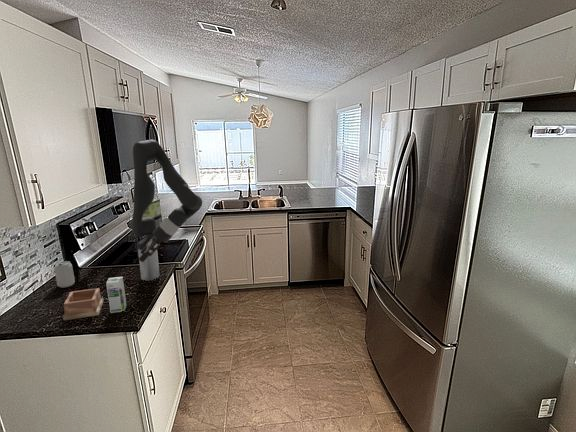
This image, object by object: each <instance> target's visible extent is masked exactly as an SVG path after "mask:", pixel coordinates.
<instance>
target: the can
mask: <svg viewBox="0 0 576 432" xmlns="http://www.w3.org/2000/svg"><path fill="white" fill-rule="evenodd" d="M73 268H74V267H73V264H72V263H71V261H69V260H68V261H67V260H65V261H59V262H57V263H55V265H54V267H53V269H54V275H55V280H56V281H55V282H56V284H57V287H58V288H69V287H72V286H73V285H74V284H75V282H76V281H75V275H74V269H73Z"/></svg>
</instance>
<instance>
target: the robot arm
mask: <svg viewBox="0 0 576 432" xmlns="http://www.w3.org/2000/svg"><path fill="white" fill-rule="evenodd" d="M132 158H133V172H134V173H133V174H134V175H133V177H134V178H133V179H134V180H133V181H134V182H133V183H134V184H133V212H132V220H131V231H132V234H133V236H135V237H143V239H141V240H140V241H138V243H137V252H138V262H139V270H140V271H139V272H140V279H141V280H142V281H144V280H145V281H144V282H151V281H155V280H157V279H159V278H160V277H159V276H160V275H161V274H160V265H159V263H160V262H159V256H158V255H159V254H158V249H159V248H160V247H161V242H163V243H165V244H166V243H168V242H169V241H170V240H171V238H173V237H174V235H176V233H177V232H178V231H179V230H180V228H181V227H182V226H183V225H184V223H185V222H187V220H188V219H190V218H191V217H192V216H193V215H194V214H196V213H197V212H198V211H199V210H200V209H201V208H202V205H203V200H202V198H201V196H199V195H197V194H195V193H194V191H192V189H191V188H190V186H189V184H188V183H187V181H186V180H185V179H184V178H183V177H182V176H181V175H180V174H179V172H178V171H177V170H176V168H175V167H174V165H173V164H172V161H171V160H170V158H169V157H168V155H167V153H166V152H165V150H164V149H163V147H162V145H161V144H160V143H159V142H158V141H157V140H155V139H147V140H140V141H137V142H135V143H134V144H133V147H132ZM152 161H156V162H157V163H158V164H159V166H161V168H162V175H163V180H164V182H165V184H166V185H167V186H168V188H169V189H170V191H172V192H173V193H174V195H175V196H176V197H177V199H178V201H179V202H180V204H182V205H181V206H179V207H177V208H174V209H173V210H172V211H171V213H170V214H168V215H167V217H165V218H164V219H163V220H162V221H161V222H160V223H159V224H158V225H157V223H156V219H154V218H153V217H144V218H142V217H143V214H144V212H145V211H146V209H147V208H148V207H149V206H150V204H151V203H152V201H153V200H154V199H155V195H156V194H155V193H156V192H155V191H156V187H155V186H156V185H155V183H154V181H153V180H152V178H151V176H150V175H149V174H148V170H147V169H148V168H147V165H148V162H152ZM144 236H145V237H144ZM158 277H159V278H158ZM156 278H157V279H156ZM154 279H155V280H154ZM150 280H151V281H150Z"/></svg>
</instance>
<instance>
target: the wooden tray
mask: <svg viewBox="0 0 576 432" xmlns="http://www.w3.org/2000/svg"><path fill="white" fill-rule="evenodd" d="M103 304H104V297H101V290H100V287H98V288H89V289H82V290H80V289H79V290H74V291H70V292H69V294H68V295H67V298H66V299H65V301H64V303H63V309H64V315H63V317H62V319H63V321H69V320H76V319H81V318H82V319H83V318H87V317H88V318H89V317H94V316H99V315H100V313H101V309H102V306H103Z"/></svg>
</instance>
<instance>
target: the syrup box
mask: <svg viewBox="0 0 576 432" xmlns="http://www.w3.org/2000/svg"><path fill="white" fill-rule="evenodd" d="M124 283H125V282H124V277H123V276H117V277H108V279H107V281H106V285H105V286H106V291H107V299H108V303H109V312H110V314H113V313H121V312H122V311H124V312H126V311H125V310H126V308H127V299H126V293H125V291H126V290H125V284H124Z"/></svg>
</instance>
